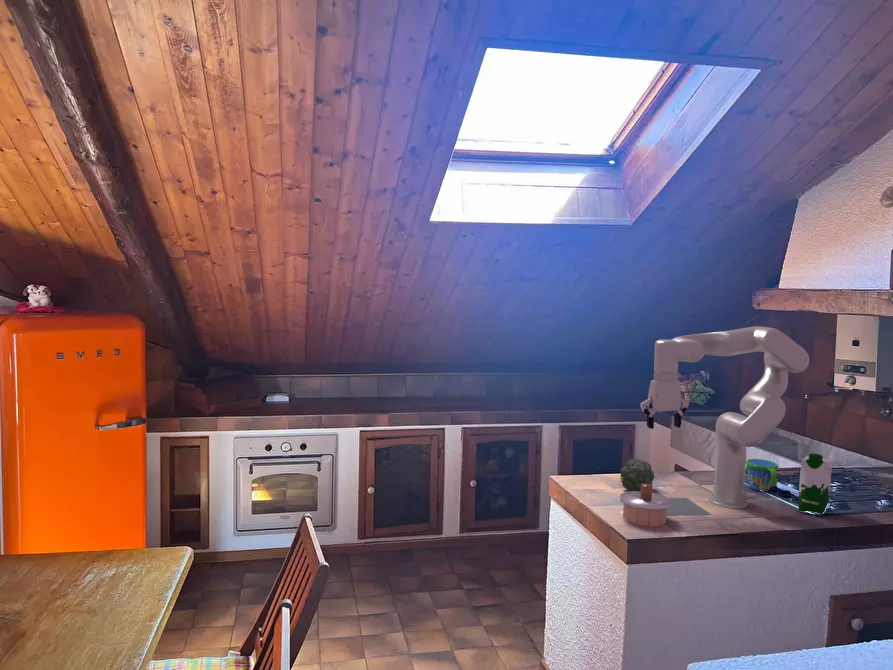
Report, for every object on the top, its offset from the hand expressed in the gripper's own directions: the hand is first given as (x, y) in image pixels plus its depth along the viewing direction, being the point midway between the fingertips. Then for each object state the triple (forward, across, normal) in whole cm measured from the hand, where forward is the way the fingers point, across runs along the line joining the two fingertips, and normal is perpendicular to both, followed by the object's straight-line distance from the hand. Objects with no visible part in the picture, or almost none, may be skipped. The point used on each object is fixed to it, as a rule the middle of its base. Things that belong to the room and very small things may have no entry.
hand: (663, 427), depth 234 cm
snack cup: (+29, -47, -14) cm, 57 cm away
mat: (+27, -4, +2) cm, 27 cm away
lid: (+20, +12, +13) cm, 27 cm away
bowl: (+26, +13, +13) cm, 32 cm away
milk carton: (+29, -49, +11) cm, 58 cm away
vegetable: (+27, +2, -18) cm, 32 cm away
